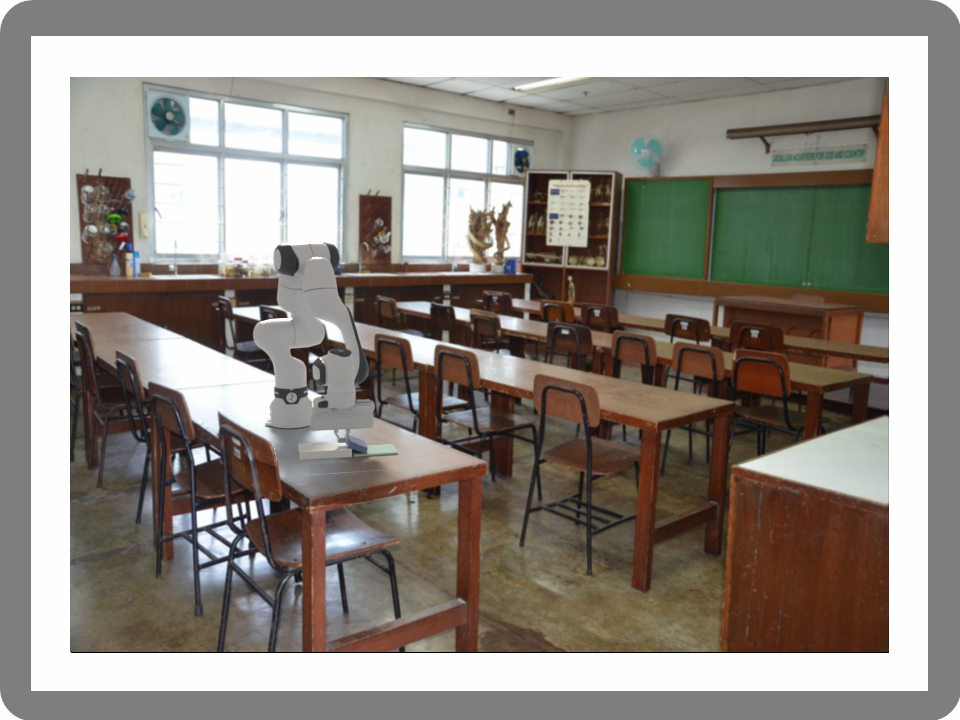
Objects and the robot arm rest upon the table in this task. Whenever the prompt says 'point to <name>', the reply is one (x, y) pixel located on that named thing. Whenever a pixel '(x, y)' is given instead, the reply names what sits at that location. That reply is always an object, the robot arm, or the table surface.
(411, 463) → the table surface
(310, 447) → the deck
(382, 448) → the mat
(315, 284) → the robot arm
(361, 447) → the tile
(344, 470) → the table surface
